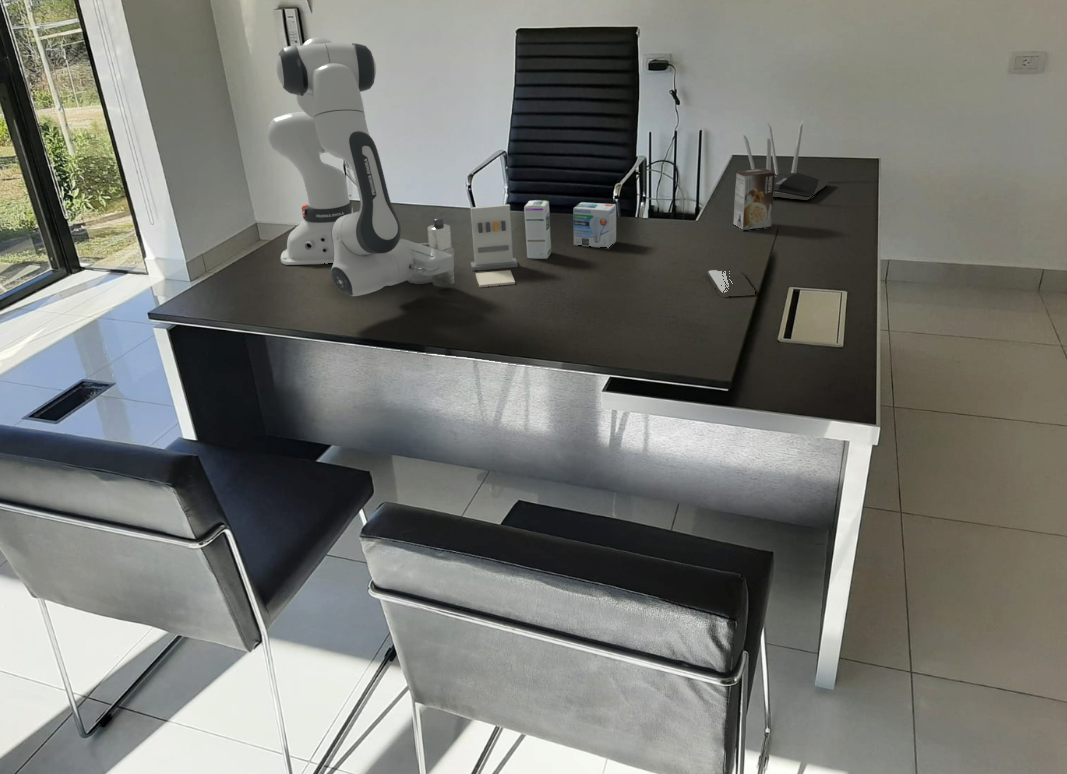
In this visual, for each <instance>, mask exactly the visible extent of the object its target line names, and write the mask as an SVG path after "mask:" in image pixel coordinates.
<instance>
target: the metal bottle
mask: <svg viewBox="0 0 1067 774" xmlns="http://www.w3.org/2000/svg"><path fill="white" fill-rule="evenodd" d="M426 230H427V237H428V238H427V239H428V243H429V247H430V248H433V249H436V250H439V251H443V252H444V251H445V249H446V248H452V249H453V246H452V244H453V243H452V236H451V235H452V233H451V226H450V225H449V224H446V223H444V218H443V217H434V218H432V224H431V225H429V226H428V227H427V229H426ZM454 271H455V270H454V268H453V270H451V271H448V272H445V273H441V274H437V275H432V282H431V283H432V285H433V286H436V287H449V286H451V285H454V284H455V281H456V280H455V272H454Z"/></svg>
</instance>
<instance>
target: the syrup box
mask: <svg viewBox="0 0 1067 774" xmlns="http://www.w3.org/2000/svg"><path fill="white" fill-rule="evenodd" d="M523 208H524V209H523V211H524V213H523V215H524V225H525V227H524V228H525V242H526V257H527V259H534V260H535V259H537V260H540V259H541V260H542V259H545V260H547V259H548V258H549V257H550V255H551V253H552V237H551V236H552V235H551V216H550V215H551V214H550V202H549V200H541V199H539V200H538V199H535V200H529V201H528V202H527V203H526V204H525V205H524V207H523Z"/></svg>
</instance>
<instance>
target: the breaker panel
mask: <svg viewBox="0 0 1067 774" xmlns="http://www.w3.org/2000/svg"><path fill="white" fill-rule="evenodd" d="M470 220H471V229H472V230H471V231H472V232H471V233H472V245H473V256H474V257H473V258H474V259H473V260H474V261H471V262H470V268H471V271H472V272H476V271H475V270H478V271H485V270H497V269H507V268H519V264H518V261H517V259H516V257H513V240H512V222H511V220H512V219H511V205H510V204H497V205H487V206H486V205H485V206H476V207H475V206H473V207H470Z"/></svg>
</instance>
